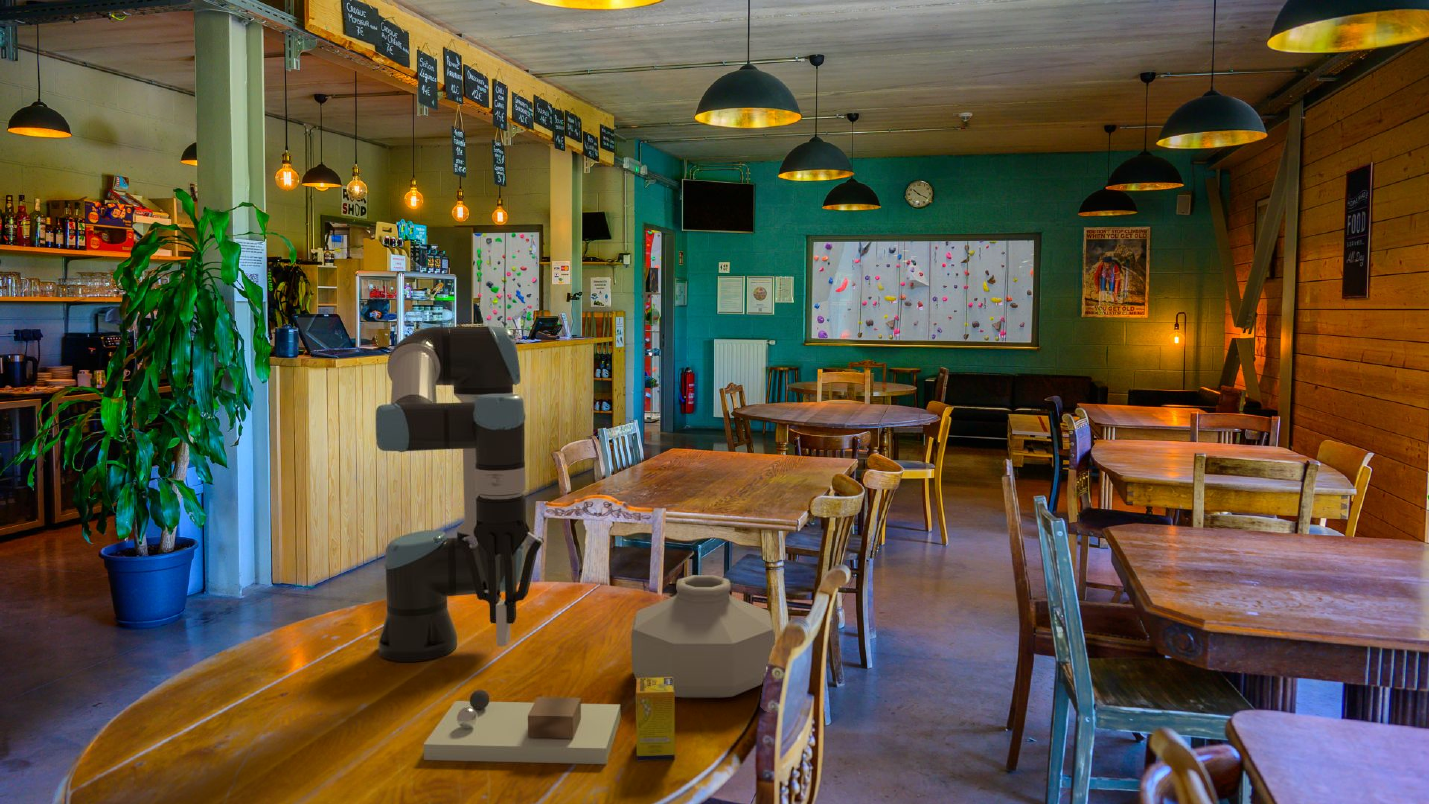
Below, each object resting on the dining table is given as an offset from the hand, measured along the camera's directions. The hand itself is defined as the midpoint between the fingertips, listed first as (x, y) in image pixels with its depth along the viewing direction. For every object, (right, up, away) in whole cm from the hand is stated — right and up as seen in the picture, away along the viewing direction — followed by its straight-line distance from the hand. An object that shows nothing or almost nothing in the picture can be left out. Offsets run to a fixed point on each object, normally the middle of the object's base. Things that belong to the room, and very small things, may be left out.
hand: (503, 642), depth 151 cm
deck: (+3, -16, +4) cm, 17 cm away
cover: (+8, -14, +1) cm, 16 cm away
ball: (-6, -12, +2) cm, 14 cm away
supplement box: (+24, -17, 0) cm, 29 cm away
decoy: (-6, -12, +9) cm, 16 cm away
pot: (+31, -14, +29) cm, 45 cm away
